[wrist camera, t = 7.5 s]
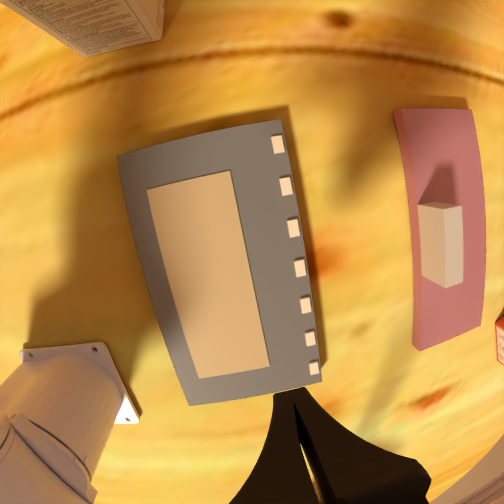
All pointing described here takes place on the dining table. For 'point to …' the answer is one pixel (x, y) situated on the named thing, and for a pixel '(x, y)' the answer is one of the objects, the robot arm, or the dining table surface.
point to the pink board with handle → (444, 221)
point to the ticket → (225, 261)
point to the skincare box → (95, 22)
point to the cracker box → (500, 340)
